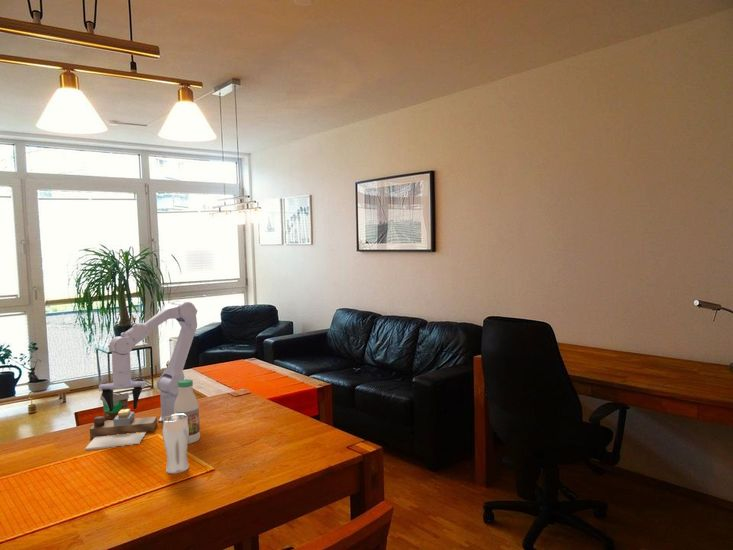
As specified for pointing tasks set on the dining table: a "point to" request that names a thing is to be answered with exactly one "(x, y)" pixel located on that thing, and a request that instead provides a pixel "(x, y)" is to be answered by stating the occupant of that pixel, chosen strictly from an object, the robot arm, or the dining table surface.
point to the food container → (115, 405)
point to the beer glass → (176, 442)
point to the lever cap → (123, 418)
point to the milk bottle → (188, 408)
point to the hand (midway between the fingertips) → (123, 409)
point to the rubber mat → (115, 440)
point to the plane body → (108, 426)
